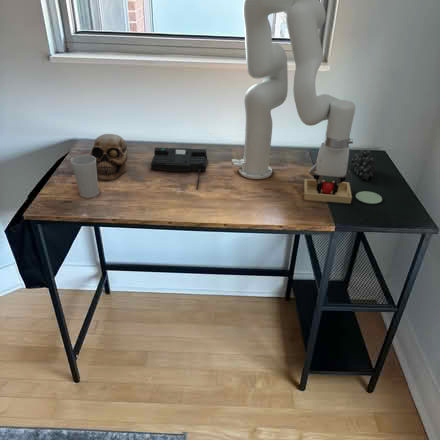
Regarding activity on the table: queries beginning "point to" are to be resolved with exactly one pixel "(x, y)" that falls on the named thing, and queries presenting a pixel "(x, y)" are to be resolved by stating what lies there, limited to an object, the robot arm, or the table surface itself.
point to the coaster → (368, 197)
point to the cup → (86, 175)
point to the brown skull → (109, 156)
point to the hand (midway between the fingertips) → (326, 192)
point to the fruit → (364, 164)
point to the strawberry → (327, 186)
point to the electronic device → (180, 160)
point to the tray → (341, 195)
